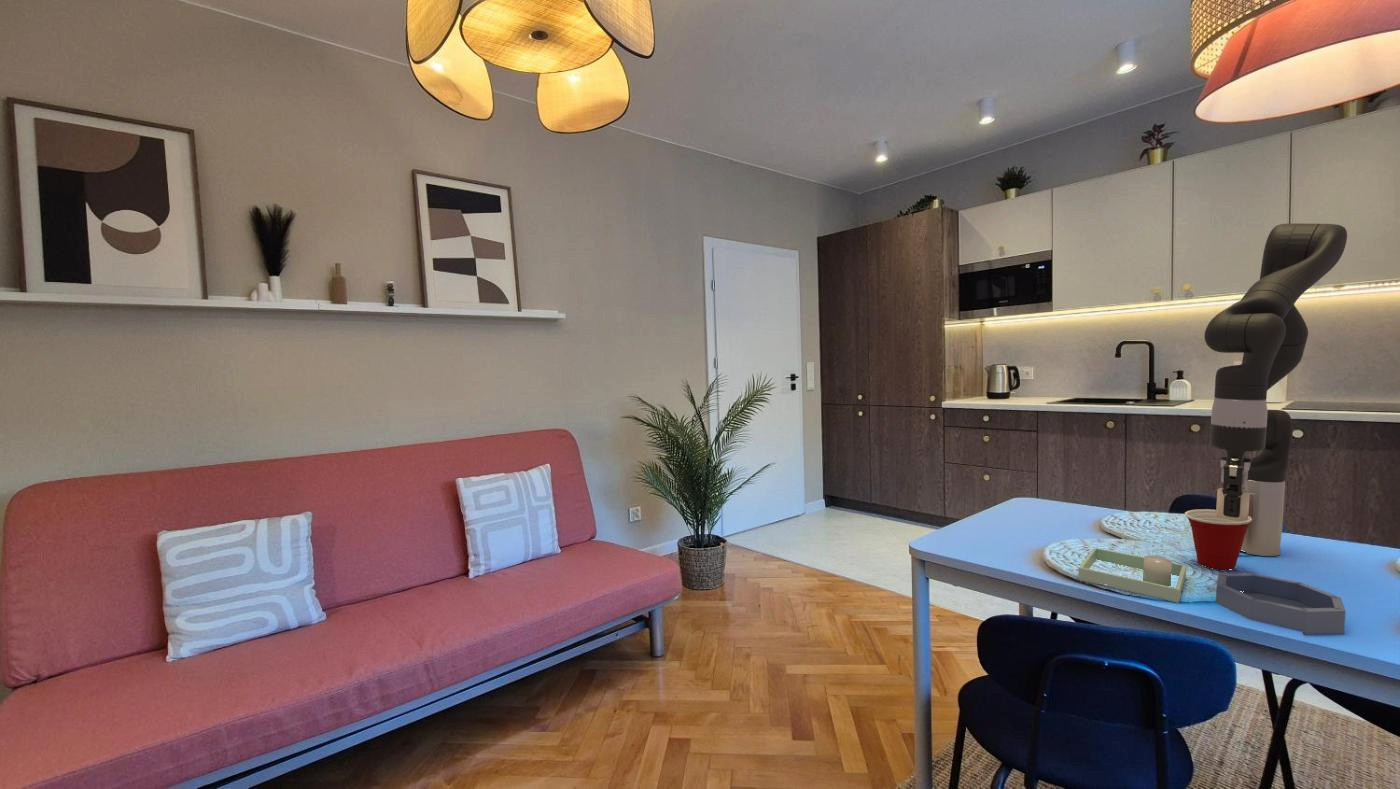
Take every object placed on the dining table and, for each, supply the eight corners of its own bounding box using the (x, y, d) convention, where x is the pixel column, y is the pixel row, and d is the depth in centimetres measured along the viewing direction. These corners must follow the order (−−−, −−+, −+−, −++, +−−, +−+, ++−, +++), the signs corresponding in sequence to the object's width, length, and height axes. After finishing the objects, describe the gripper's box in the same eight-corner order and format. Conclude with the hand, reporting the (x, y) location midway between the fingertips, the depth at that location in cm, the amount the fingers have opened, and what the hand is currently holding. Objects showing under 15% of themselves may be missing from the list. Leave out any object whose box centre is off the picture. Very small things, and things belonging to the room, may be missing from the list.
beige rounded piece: (1144, 577, 119) (1145, 554, 118) (1171, 583, 116) (1173, 559, 115) (1141, 584, 115) (1142, 559, 115) (1169, 590, 112) (1170, 565, 112)
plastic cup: (1175, 555, 132) (1177, 504, 131) (1236, 563, 127) (1240, 510, 126) (1190, 572, 122) (1193, 517, 121) (1257, 581, 117) (1261, 524, 116)
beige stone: (1216, 512, 110) (1218, 486, 110) (1248, 517, 107) (1250, 490, 107) (1214, 517, 107) (1216, 491, 107) (1247, 522, 104) (1249, 495, 104)
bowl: (1218, 586, 115) (1219, 566, 115) (1336, 610, 104) (1338, 589, 104) (1214, 613, 104) (1215, 592, 103) (1347, 644, 93) (1349, 620, 92)
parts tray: (1093, 560, 130) (1093, 547, 129) (1185, 579, 119) (1186, 565, 118) (1077, 581, 118) (1078, 567, 118) (1178, 605, 107) (1179, 589, 107)
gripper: (1265, 429, 98) (1258, 526, 99) (1267, 420, 108) (1261, 509, 109) (1207, 425, 103) (1201, 518, 105) (1214, 417, 113) (1209, 502, 115)
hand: (1232, 513), depth 107 cm, fingers closed on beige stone, 4 cm apart
